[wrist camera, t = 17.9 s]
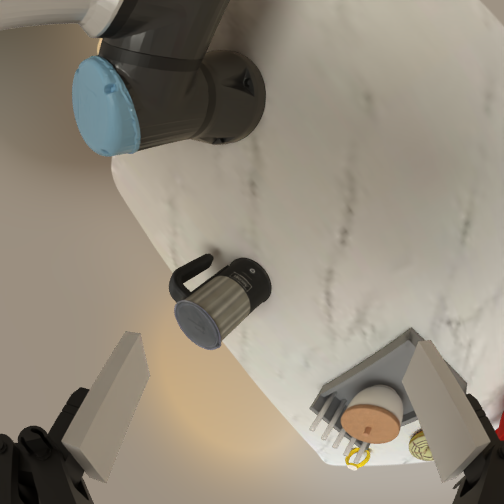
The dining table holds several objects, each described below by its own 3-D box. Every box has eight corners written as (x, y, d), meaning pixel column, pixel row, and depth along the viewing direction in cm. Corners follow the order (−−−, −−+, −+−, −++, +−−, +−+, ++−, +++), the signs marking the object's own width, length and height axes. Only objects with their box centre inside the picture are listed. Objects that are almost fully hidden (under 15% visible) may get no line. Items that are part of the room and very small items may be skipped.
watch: (354, 450, 60) (343, 469, 56) (350, 445, 60) (339, 463, 56) (374, 452, 55) (364, 471, 51) (371, 446, 55) (360, 466, 51)
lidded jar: (413, 411, 44) (400, 452, 37) (363, 412, 51) (345, 448, 44) (404, 373, 42) (390, 416, 35) (349, 376, 49) (328, 414, 42)
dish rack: (323, 385, 55) (298, 425, 47) (411, 327, 40) (396, 379, 32) (374, 427, 52) (355, 468, 44) (466, 383, 37) (459, 435, 29)
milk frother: (277, 271, 50) (221, 321, 40) (262, 333, 59) (216, 381, 48) (211, 238, 56) (150, 274, 45) (207, 300, 65) (157, 338, 54)
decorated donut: (459, 447, 41) (456, 461, 39) (416, 451, 49) (412, 464, 46) (456, 422, 40) (453, 437, 37) (407, 427, 47) (403, 441, 45)
